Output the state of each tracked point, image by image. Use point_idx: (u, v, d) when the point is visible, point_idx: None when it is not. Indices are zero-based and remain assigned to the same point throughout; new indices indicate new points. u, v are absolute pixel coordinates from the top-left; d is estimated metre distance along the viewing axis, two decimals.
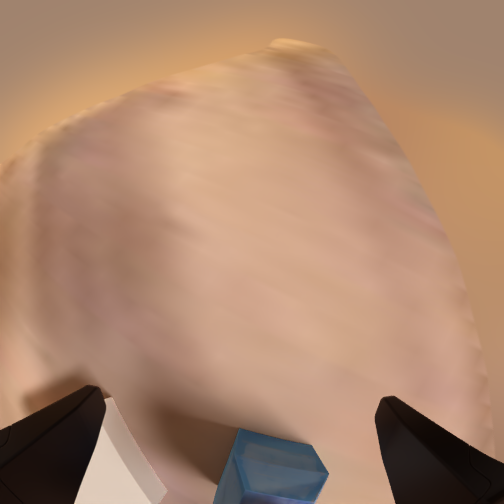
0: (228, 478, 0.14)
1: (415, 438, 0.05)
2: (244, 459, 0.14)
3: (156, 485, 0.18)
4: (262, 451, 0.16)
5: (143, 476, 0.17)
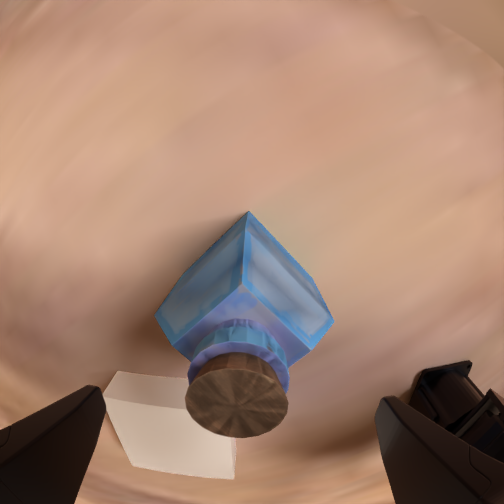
0: None
1: (415, 438, 0.05)
2: (162, 310, 0.13)
3: None
4: (186, 279, 0.15)
5: None
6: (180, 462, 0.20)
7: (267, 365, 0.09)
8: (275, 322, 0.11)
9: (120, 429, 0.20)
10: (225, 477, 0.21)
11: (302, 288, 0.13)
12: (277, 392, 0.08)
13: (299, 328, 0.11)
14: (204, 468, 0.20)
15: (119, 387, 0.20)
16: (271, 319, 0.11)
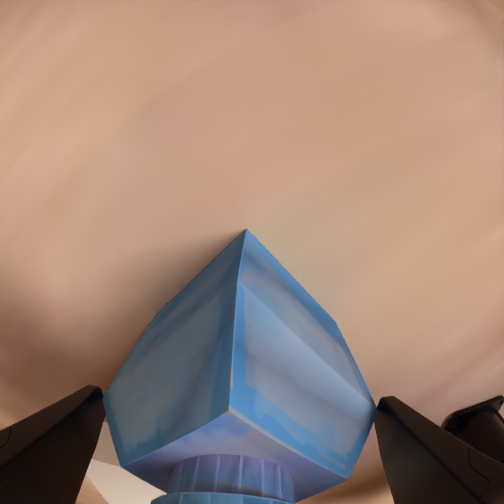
0: None
1: (414, 438, 0.05)
2: (111, 396, 0.07)
3: None
4: (149, 341, 0.09)
5: None
6: None
7: None
8: (293, 458, 0.05)
9: (96, 483, 0.14)
10: None
11: (335, 373, 0.07)
12: None
13: (331, 453, 0.05)
14: None
15: None
16: (286, 455, 0.05)
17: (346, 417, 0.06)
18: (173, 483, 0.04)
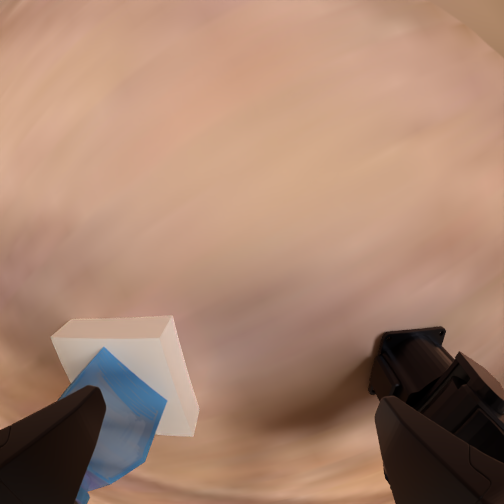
0: None
1: (415, 438, 0.05)
2: None
3: (154, 321, 0.21)
4: None
5: (131, 328, 0.20)
6: None
7: None
8: None
9: (72, 377, 0.19)
10: (184, 434, 0.20)
11: (111, 439, 0.13)
12: None
13: (99, 470, 0.11)
14: None
15: (68, 329, 0.20)
16: None
17: (114, 459, 0.12)
18: None
